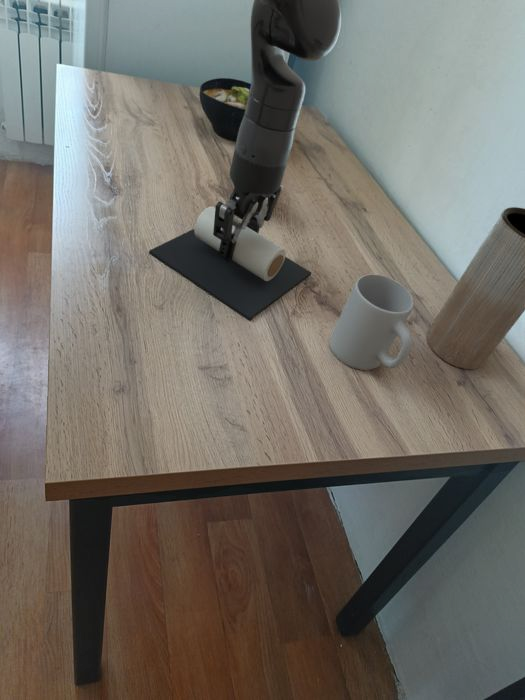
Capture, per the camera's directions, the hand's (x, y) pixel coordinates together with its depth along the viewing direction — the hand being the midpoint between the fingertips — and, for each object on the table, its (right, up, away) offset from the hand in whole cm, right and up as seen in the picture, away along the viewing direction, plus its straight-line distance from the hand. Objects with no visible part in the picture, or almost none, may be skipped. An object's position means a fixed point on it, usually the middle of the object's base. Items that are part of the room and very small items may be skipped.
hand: (236, 251), depth 86 cm
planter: (+35, -15, +1) cm, 38 cm away
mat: (-1, -2, +2) cm, 3 cm away
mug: (+19, -17, -7) cm, 26 cm away
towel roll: (0, -1, +1) cm, 1 cm away
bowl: (-3, +34, +39) cm, 52 cm away
